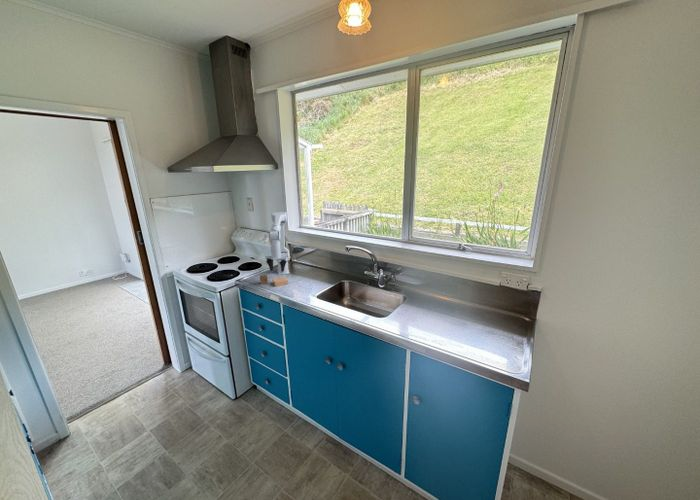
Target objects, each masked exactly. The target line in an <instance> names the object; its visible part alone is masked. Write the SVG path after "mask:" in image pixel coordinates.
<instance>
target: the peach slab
mask: <svg viewBox="0 0 700 500" xmlns="http://www.w3.org/2000/svg"><path fill="white" fill-rule="evenodd" d="M271 279H272V284H273V285H274V286H277V287H281V286H286V285H289V282H288V281H289V280H288V279H287V278H286V277H285V276H281V277H275V278H271Z"/></svg>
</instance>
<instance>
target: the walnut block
mask: <svg viewBox="0 0 700 500" xmlns="http://www.w3.org/2000/svg"><path fill="white" fill-rule="evenodd" d="M259 281H260V282H259V283H260V285H261V284H263V285H268V283H269V282H268V274H260V275H259Z"/></svg>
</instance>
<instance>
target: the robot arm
mask: <svg viewBox="0 0 700 500" xmlns="http://www.w3.org/2000/svg"><path fill="white" fill-rule="evenodd" d="M271 221H272V222H273V224H272V225H271V229H270V231H269V232H268V240H269V245H270V255H266V256H265V260H266V261H265V262H266V264H267V265H268V267H269V269H270V270H269V271H270V272H272V271H274V261H276V262H277V270H276V271H277V275H278V276H280V275H288V274H290V270H289V260H290V258H291V256H290V254H291V253H290V249H288V248H287V247H286V239H285V225H287V223H288V212H287V211H280V212H279V211H276V212H275V211H272V213H271Z"/></svg>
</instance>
